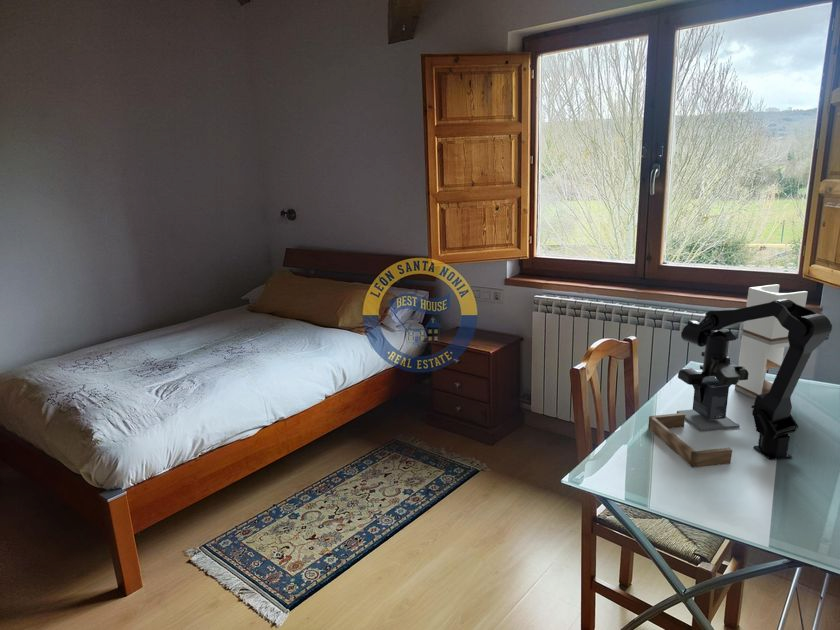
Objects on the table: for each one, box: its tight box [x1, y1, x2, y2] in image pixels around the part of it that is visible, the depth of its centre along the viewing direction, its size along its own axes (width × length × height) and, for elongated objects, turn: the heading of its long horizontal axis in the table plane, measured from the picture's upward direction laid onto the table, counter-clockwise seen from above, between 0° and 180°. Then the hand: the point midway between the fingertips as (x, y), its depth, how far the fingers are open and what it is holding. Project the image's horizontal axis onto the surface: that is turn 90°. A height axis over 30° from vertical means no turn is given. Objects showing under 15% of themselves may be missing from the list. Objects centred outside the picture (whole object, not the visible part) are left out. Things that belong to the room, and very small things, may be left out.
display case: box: [734, 283, 809, 400], centre depth 179 cm, size 11×11×35 cm
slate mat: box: [676, 408, 740, 433], centre depth 166 cm, size 12×12×1 cm
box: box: [692, 377, 730, 420], centre depth 164 cm, size 8×6×11 cm
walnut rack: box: [647, 412, 733, 469], centre depth 153 cm, size 21×10×4 cm, turn 8°
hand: (709, 401), depth 165 cm, fingers closed on box, 6 cm apart
